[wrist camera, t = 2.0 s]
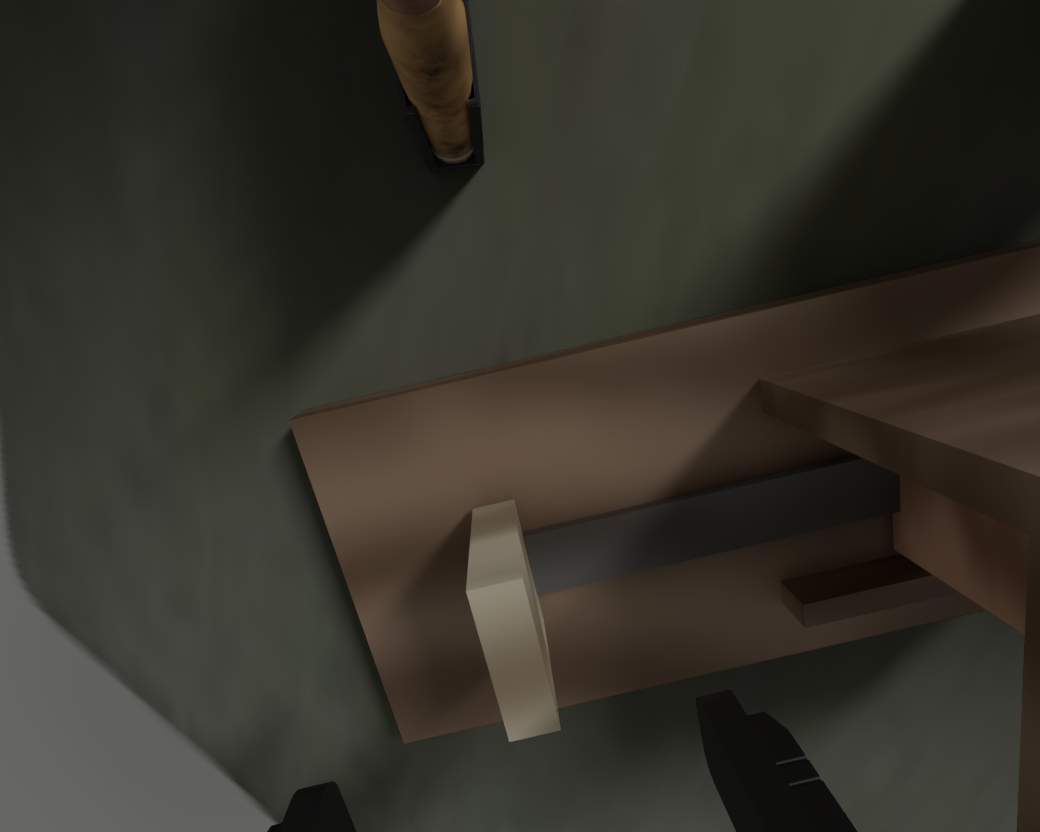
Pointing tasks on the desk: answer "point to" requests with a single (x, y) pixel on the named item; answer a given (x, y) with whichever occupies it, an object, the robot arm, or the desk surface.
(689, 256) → the desk surface
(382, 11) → the ammunition clip
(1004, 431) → the wooden plunger housing
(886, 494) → the wooden plunger
